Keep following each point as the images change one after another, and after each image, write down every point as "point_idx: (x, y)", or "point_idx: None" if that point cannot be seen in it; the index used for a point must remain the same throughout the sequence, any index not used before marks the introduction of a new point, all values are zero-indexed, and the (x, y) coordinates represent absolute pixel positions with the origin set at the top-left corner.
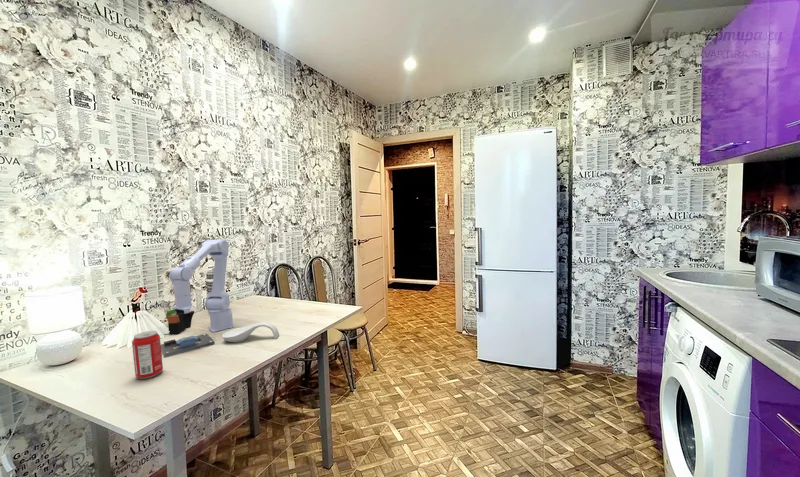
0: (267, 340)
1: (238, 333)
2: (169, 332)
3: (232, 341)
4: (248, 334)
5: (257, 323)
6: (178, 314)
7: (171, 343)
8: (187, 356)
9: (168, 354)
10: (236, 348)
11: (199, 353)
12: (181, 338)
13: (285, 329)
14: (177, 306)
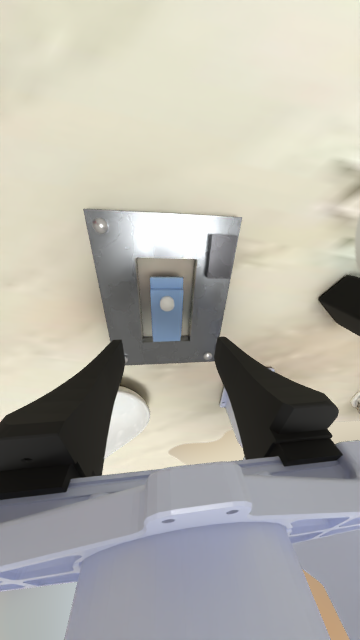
0: None
1: (135, 411)
2: (353, 278)
3: None
4: None
5: None
6: (22, 427)
7: (207, 261)
8: (47, 283)
9: (88, 227)
10: (40, 389)
11: (56, 317)
12: (164, 299)
13: (111, 457)
14: (124, 563)
